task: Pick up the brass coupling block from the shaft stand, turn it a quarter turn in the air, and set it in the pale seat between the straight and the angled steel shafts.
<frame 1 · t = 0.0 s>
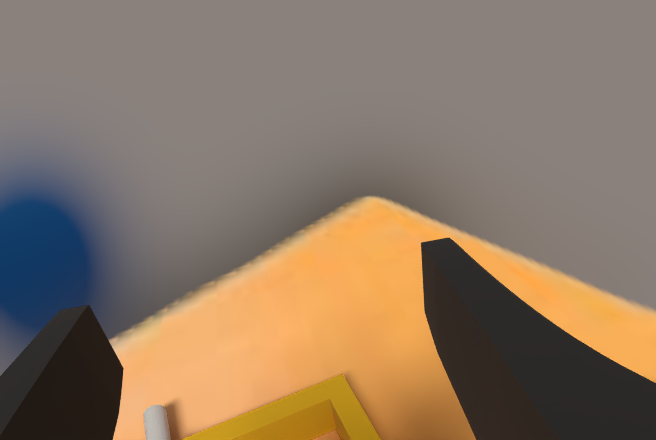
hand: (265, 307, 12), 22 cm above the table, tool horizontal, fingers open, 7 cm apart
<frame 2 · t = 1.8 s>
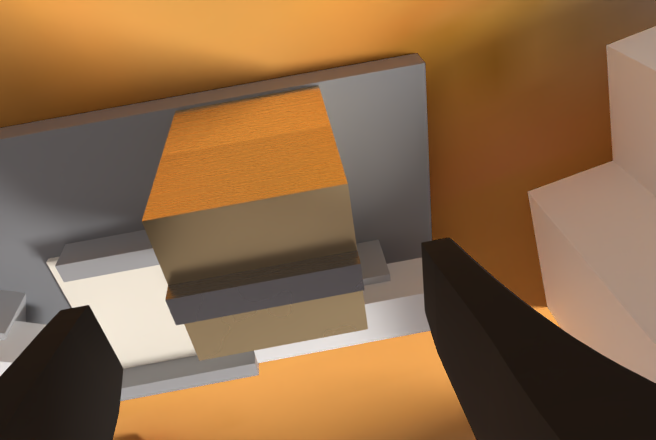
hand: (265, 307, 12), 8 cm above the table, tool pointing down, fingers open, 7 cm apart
shaft stand: (174, 243, 20), on the table
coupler: (262, 161, 17), point 1 cm above the table, touching shaft stand
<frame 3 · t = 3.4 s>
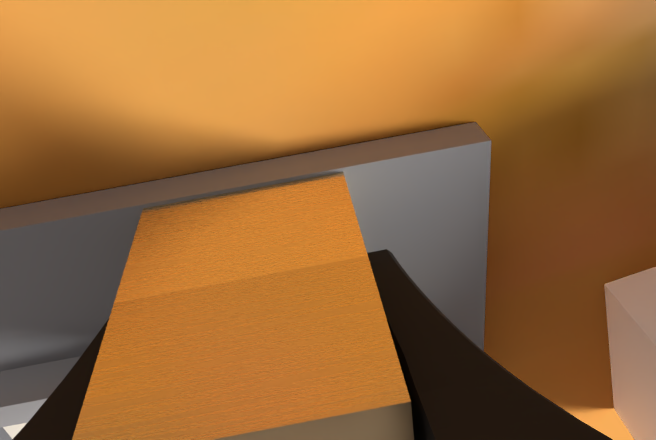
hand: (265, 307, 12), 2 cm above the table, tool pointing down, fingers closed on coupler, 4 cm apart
shaft stand: (149, 355, 15), on the table
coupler: (264, 267, 13), point 1 cm above the table, touching gripper, shaft stand
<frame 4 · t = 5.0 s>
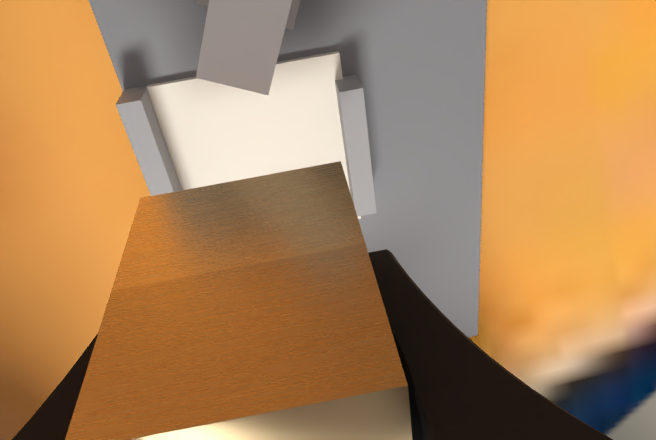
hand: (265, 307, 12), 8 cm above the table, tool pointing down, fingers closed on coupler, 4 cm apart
shaft stand: (321, 159, 19), on the table
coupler: (262, 257, 13), point 7 cm above the table, touching gripper
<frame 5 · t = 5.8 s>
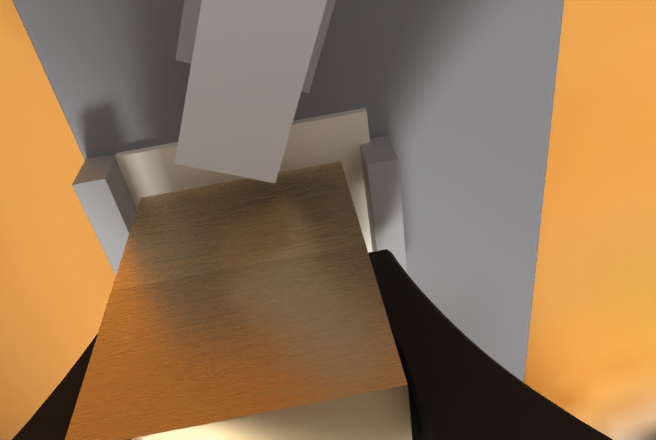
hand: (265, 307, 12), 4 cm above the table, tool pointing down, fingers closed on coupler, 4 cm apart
shaft stand: (338, 230, 15), on the table
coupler: (262, 257, 13), point 2 cm above the table, touching gripper
when the fingers open (4 cm above the table, at t = 6.6 s): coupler stays where it is, resting on shaft stand.
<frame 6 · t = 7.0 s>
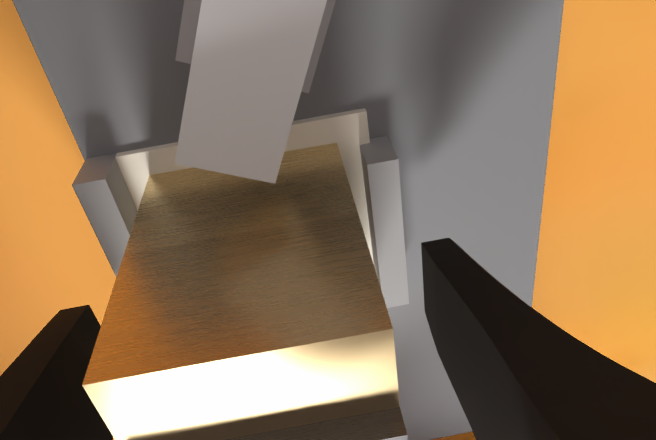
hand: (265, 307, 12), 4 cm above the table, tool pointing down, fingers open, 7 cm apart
shaft stand: (338, 230, 15), on the table
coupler: (262, 234, 14), point 1 cm above the table, touching shaft stand
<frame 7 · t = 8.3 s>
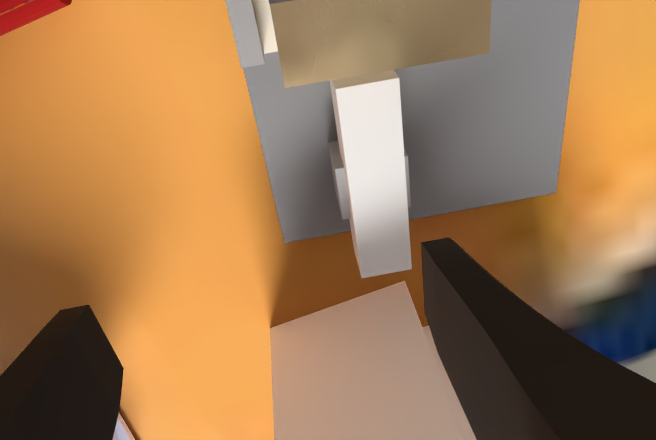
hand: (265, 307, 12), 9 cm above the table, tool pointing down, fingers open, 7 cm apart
corner bracket: (412, 355, 28), on the table
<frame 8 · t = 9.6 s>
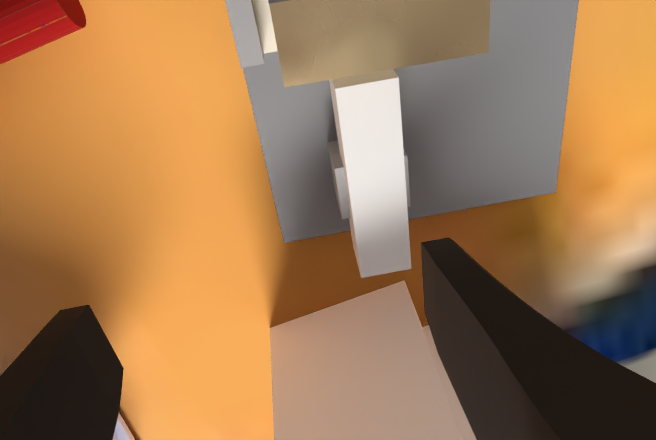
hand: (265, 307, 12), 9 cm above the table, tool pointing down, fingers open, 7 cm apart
corner bracket: (412, 355, 28), on the table
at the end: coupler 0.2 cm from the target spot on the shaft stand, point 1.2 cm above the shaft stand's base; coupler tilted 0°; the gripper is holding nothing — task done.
